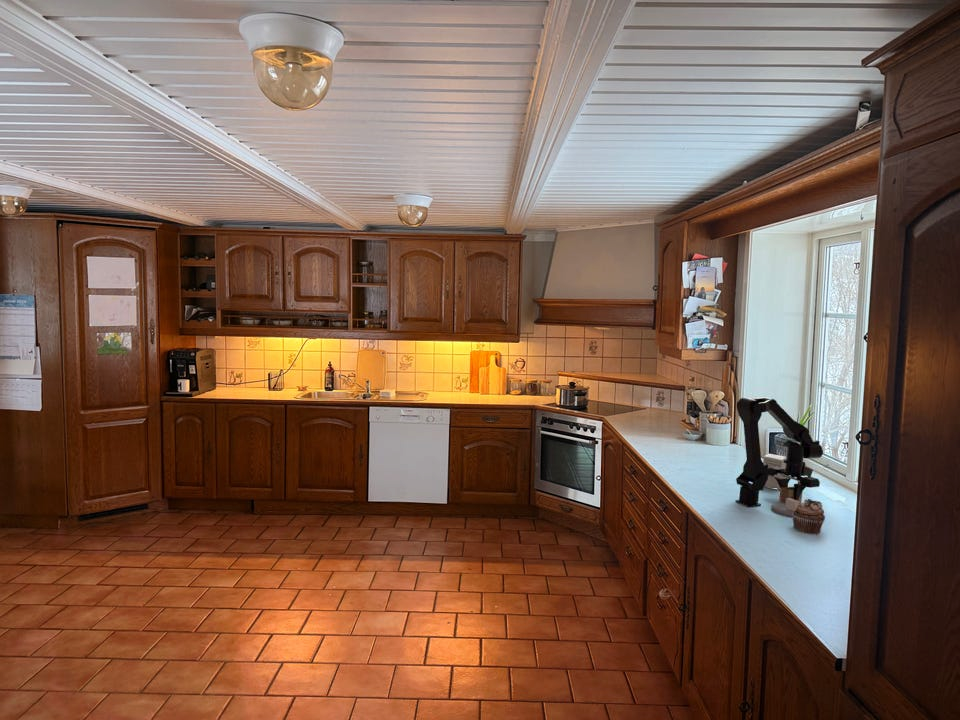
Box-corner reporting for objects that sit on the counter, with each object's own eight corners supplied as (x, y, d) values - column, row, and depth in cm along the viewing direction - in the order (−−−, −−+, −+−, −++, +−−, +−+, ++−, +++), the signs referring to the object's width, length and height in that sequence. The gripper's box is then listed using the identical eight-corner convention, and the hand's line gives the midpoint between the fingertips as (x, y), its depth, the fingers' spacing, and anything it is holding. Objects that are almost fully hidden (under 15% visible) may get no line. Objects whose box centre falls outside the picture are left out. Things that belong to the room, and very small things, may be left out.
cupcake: (794, 522, 224) (797, 494, 223) (826, 530, 217) (829, 501, 216) (787, 529, 216) (790, 499, 215) (819, 537, 210) (822, 507, 209)
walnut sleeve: (789, 504, 245) (790, 491, 244) (778, 500, 249) (780, 487, 248) (801, 502, 248) (802, 489, 247) (791, 499, 252) (792, 486, 251)
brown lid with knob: (794, 519, 227) (796, 507, 226) (763, 508, 238) (764, 495, 238) (819, 516, 232) (820, 503, 232) (787, 504, 244) (789, 492, 244)
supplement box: (765, 483, 273) (768, 453, 272) (784, 487, 269) (787, 456, 268) (759, 486, 268) (763, 455, 267) (779, 490, 263) (782, 459, 262)
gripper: (831, 463, 242) (827, 504, 244) (787, 451, 259) (783, 490, 260) (811, 465, 237) (806, 507, 238) (768, 453, 253) (764, 492, 255)
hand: (790, 499), depth 248 cm, fingers closed on walnut sleeve, 4 cm apart
